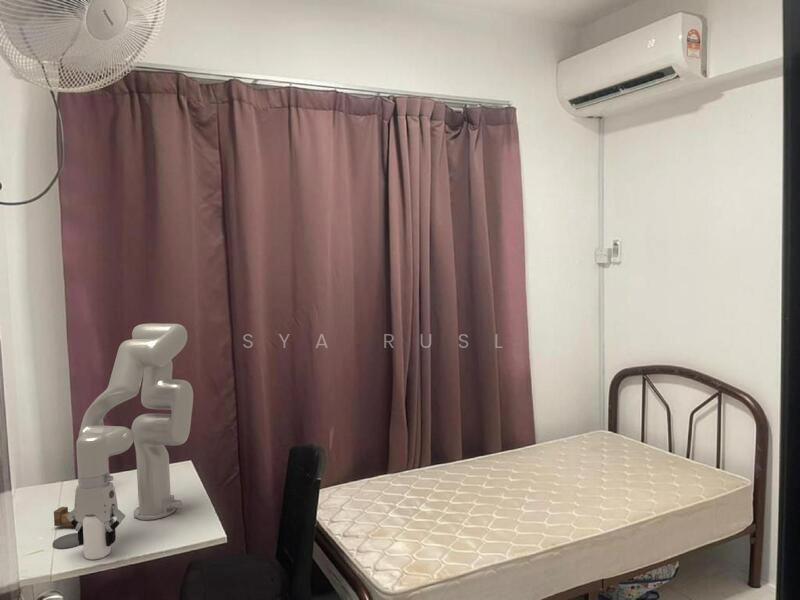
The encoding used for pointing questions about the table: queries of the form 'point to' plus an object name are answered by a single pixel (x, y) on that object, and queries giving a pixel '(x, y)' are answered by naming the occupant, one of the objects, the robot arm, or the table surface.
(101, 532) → the can
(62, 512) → the bar
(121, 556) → the table surface
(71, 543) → the pad
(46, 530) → the table surface
